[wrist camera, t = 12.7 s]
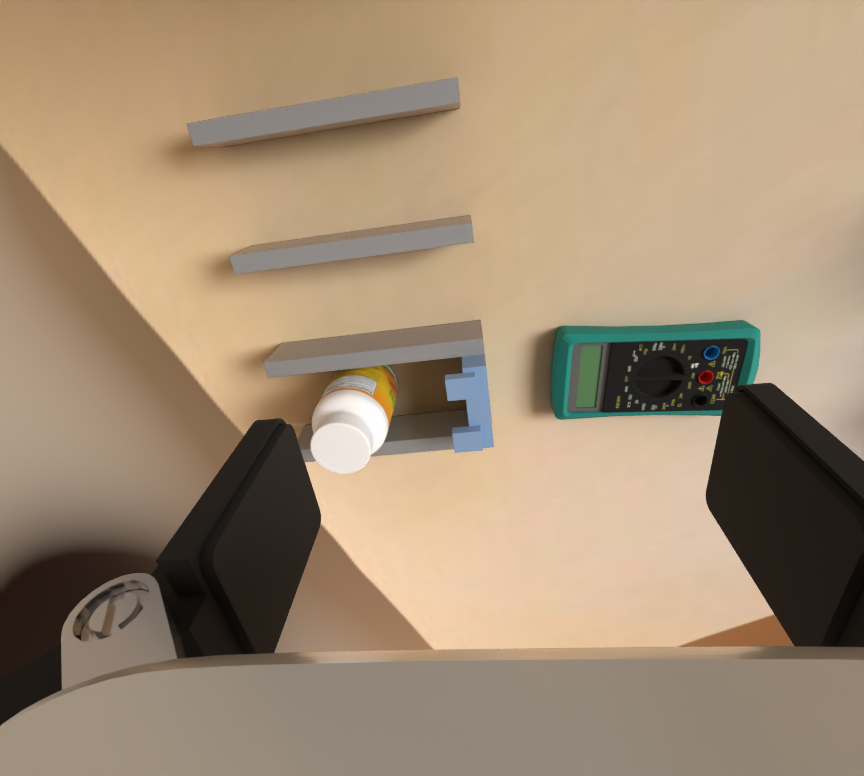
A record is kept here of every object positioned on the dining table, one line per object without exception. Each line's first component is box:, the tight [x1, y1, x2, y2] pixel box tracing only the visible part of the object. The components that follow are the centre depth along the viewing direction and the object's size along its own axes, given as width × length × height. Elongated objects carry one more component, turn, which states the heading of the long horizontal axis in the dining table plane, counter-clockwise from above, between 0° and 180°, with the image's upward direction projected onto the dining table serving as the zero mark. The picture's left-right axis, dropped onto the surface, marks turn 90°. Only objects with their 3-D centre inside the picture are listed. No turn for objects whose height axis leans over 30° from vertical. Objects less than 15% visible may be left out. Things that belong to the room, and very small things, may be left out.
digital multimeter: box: [551, 320, 760, 420], centre depth 37 cm, size 7×15×3 cm, turn 93°
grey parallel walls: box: [186, 77, 494, 462], centre depth 33 cm, size 24×16×7 cm, turn 8°
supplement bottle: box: [310, 365, 398, 474], centre depth 35 cm, size 5×5×10 cm
